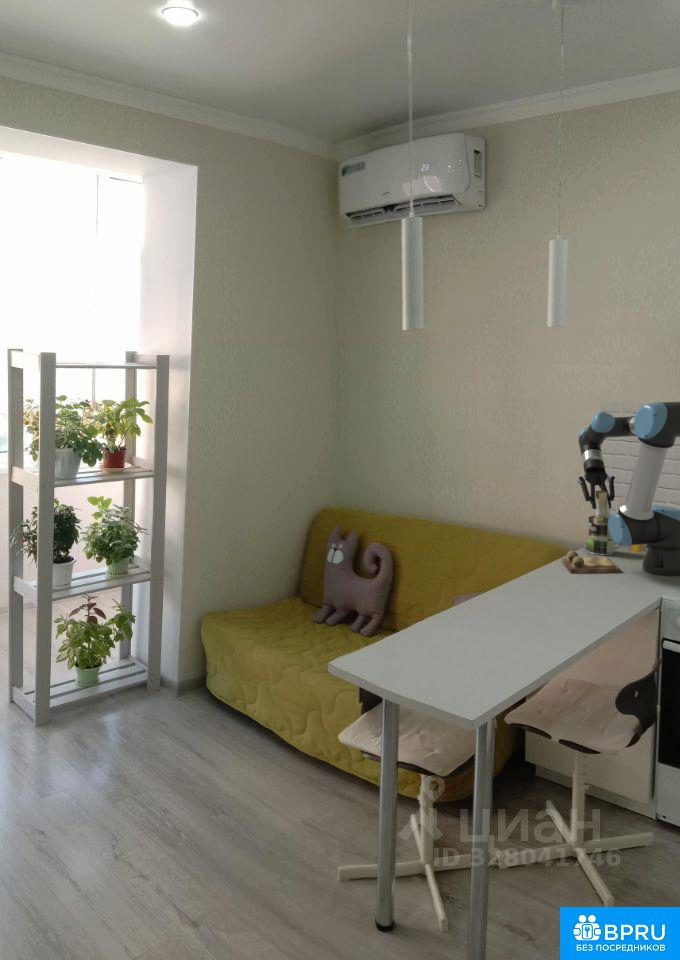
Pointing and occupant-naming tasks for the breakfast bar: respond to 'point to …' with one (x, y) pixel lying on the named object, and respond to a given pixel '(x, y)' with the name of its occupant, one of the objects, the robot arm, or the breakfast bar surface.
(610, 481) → the robot arm
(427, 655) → the breakfast bar surface
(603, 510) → the beige rectangular block
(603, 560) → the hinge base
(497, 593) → the breakfast bar surface
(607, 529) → the coffee can
